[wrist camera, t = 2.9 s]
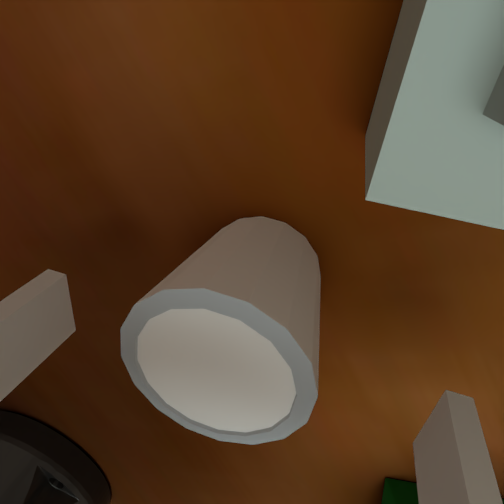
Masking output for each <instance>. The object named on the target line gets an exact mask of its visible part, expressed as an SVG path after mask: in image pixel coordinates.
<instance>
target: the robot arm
mask: <svg viewBox="0 0 504 504" xmlns="http://www.w3.org/2000/svg"><path fill="white" fill-rule="evenodd" d="M75 331H76V328H75V323H74V317H73V311H72V305H71V300H70V294H69V288H68V283H67V277H66V274H63V273H60V272H56V271H53V270H50V269H47V270H46V271H44V272H43V273H41V274H40V275H38V276H37V277H36V278H34V279H33V280H31V281H30V282H28V283H27V284H25V285H24V286H22V287H21V288H19V289H18V290H16V291H15V292H13V293H12V294H10V295H9V296H7V297H6V298H4V299H3V300H2V301H0V402H1V401H2V400H3V399H4V398H5V397H6V396H7V395H8V394H9V393H10V392H11V391H12V390H13V389H14V388H15V387H16V386H17V385H19V384H20V383H21V382H22V381H23V380H24V379H25V378H26V377H27V376H28V375H29V374H30V373H31V372H32V371H33V370H34V369H35V368H36V367H38V366H39V365H40V364H41V363H42V362H43V361H44V360H45V359H46V358H47V357H48V356H49V355H50V354H51V353H52V352H53V351H54V350H56V349H57V348H58V347H59V346H60V345H61V344H62V343H63V342H64V341H65V340H66V339H67V338H68V337H69V336H70V335H71V334H72V333H74V332H75ZM413 449H414V460H415V470H416V480H417V491H418V501H419V504H503V502H502V499H501V495H500V492H499V488H498V485H497V481H496V478H495V474H494V470H493V467H492V463H491V460H490V456H489V453H488V449H487V446H486V442H485V438H484V435H483V431H482V428H481V424H480V421H479V417H478V414H477V410H476V407H475V403H474V399H473V398H471V397H468V396H465V395H461V394H458V393H455V392H451V391H448V390H445V392H444V393H443V395H442V397H441V398H440V400H439V401H438V403H437V405H436V406H435V408H434V410H433V411H432V413H431V414H430V416H429V418H428V419H427V421H426V423H425V424H424V426H423V427H422V429H421V431H420V432H419V434H418V435H417V437H416V439H415V440H414V442H413ZM110 499H111V494H110V489H109V486H108V484H107V481H106V479H105V478H104V476H103V475H102V473H101V472H100V470H99V469H98V468H97V466H96V465H95V464H94V463H93V462H92V461H91V460H90V459H89V458H88V457H87V456H86V455H85V454H84V453H83V452H82V451H81V450H80V449H79V448H77V447H76V446H75V445H74V444H73V443H71V442H70V441H69V440H67V439H66V438H64V437H63V436H61V435H60V434H58V433H57V432H55V431H54V430H52V429H50V428H48V427H47V426H45V425H43V424H41V423H39V422H37V421H34V420H32V419H30V418H27V417H25V416H22V415H19V414H15V413H11V412H7V411H0V504H109V503H110Z"/></svg>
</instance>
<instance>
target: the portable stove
mask: <svg viewBox="0 0 504 504" xmlns="http://www.w3.org/2000/svg"><path fill="white" fill-rule="evenodd" d="M365 200H368V201H373V202H377V203H382V204H387V205H391V206H396V207H401V208H405V209H410V210H415V211H419V212H424V213H428V214H433V215H438V216H442V217H447V218H452V219H456V220H461V221H466V222H470V223H475V224H479V225H484V226H489V227H493V228H498V229H503V230H504V0H403V4H402V7H401V11H400V15H399V18H398V22H397V25H396V29H395V32H394V36H393V39H392V43H391V46H390V50H389V54H388V57H387V61H386V64H385V68H384V71H383V75H382V78H381V82H380V86H379V89H378V93H377V96H376V100H375V103H374V107H373V110H372V114H371V118H370V121H369V125H368V128H367V132H366V135H365Z"/></svg>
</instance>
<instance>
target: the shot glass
mask: <svg viewBox="0 0 504 504" xmlns="http://www.w3.org/2000/svg"><path fill="white" fill-rule="evenodd" d="M320 287H321V275H320V268H319V262H318V256H317V254H316V253H315V251H314V250H313V248H312V247H311V245H310V243H309V242H308V240H307V239H306V237H305V236H303V235H302V234H301V233H299V232H298V231H296V230H295V229H294V228H292V227H291V226H289V225H288V224H287V223H285V222H281V221H278V220H274V219H270V218H267V217H263V216H260V217H250V218H240V219H238V220H236V221H234V222H233V223H231V224H229V225H227V226H226V227H224V228H222V229H221V230H220V231H219V232H217V233H216V234H215V235H214V236H213V237H212V238H210V239H209V240H208V241H207V242H206V243H205V244H204V245H202V246H201V247H200V248H199V249H198V250H197V251H196V252H194V253H193V254H192V255H191V256H190V257H189V258H187V259H186V260H185V261H184V262H183V263H182V264H181V265H179V266H178V267H177V268H176V269H175V270H174V271H172V272H171V273H170V274H169V275H168V276H167V277H166V278H164V279H163V280H162V281H161V282H160V283H159V284H157V285H156V286H155V287H154V288H153V289H152V290H151V291H149V292H148V293H147V294H146V295H145V296H144V297H143V298H141V299H140V300H139V301H138V302H137V303H136V304H134V306H133V308H132V309H131V311H130V313H129V315H128V316H127V318H126V320H125V321H124V323H123V325H122V327H121V328H120V333H121V357H122V359H123V361H124V364H125V366H126V368H127V370H128V372H129V374H130V376H131V378H132V380H133V383H134V384H135V386H136V387H137V388H138V389H139V390H140V391H141V392H142V393H143V394H144V395H145V396H146V398H147V399H148V400H149V401H150V402H151V403H152V404H153V405H154V406H155V407H156V408H157V409H158V410H159V411H161V412H162V413H164V414H165V415H167V416H168V417H170V418H171V419H173V420H174V421H176V422H177V423H179V424H180V425H182V426H183V427H185V428H187V429H189V430H192V431H195V432H197V433H200V434H203V435H205V436H208V437H211V438H213V439H216V440H218V441H225V442H234V443H242V444H251V445H254V444H260V443H265V442H270V441H275V440H281V439H284V438H286V437H287V436H289V435H290V434H292V433H293V432H294V431H296V430H297V429H299V428H300V427H301V426H303V425H304V424H306V423H307V422H308V419H309V417H310V414H311V412H312V409H313V407H314V404H315V402H316V400H317V397H318V369H319V328H320Z"/></svg>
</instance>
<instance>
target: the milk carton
mask: <svg viewBox="0 0 504 504" xmlns="http://www.w3.org/2000/svg"><path fill="white" fill-rule="evenodd" d="M502 502H503V504H504V499H502ZM381 504H419V501H418V491H417V483H412V482H407V481H401V480H396V479H390V478H385V483H384V490H383V496H382V503H381Z"/></svg>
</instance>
